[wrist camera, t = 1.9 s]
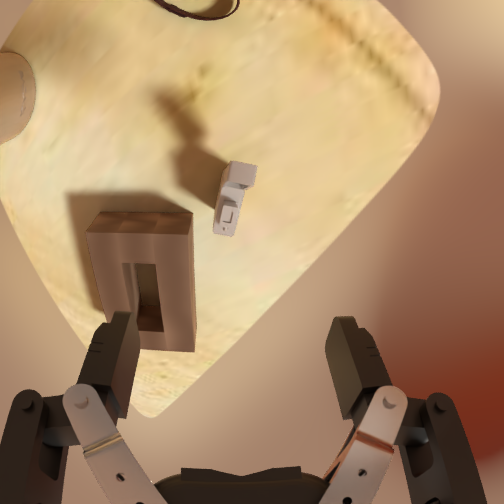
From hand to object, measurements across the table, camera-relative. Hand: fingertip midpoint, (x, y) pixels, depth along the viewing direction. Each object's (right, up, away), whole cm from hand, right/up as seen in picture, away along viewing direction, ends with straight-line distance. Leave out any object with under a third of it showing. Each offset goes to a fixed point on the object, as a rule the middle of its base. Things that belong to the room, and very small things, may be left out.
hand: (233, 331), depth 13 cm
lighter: (-1, +10, +15) cm, 18 cm away
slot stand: (-10, +1, +20) cm, 23 cm away
